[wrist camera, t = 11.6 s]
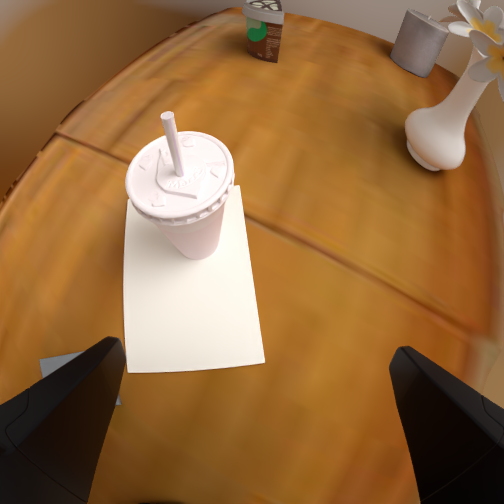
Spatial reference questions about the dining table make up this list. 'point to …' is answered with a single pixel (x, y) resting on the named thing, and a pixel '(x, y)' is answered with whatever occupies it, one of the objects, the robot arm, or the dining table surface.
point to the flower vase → (459, 89)
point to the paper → (189, 299)
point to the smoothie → (183, 187)
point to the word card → (56, 362)
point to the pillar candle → (418, 43)
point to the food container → (264, 28)
